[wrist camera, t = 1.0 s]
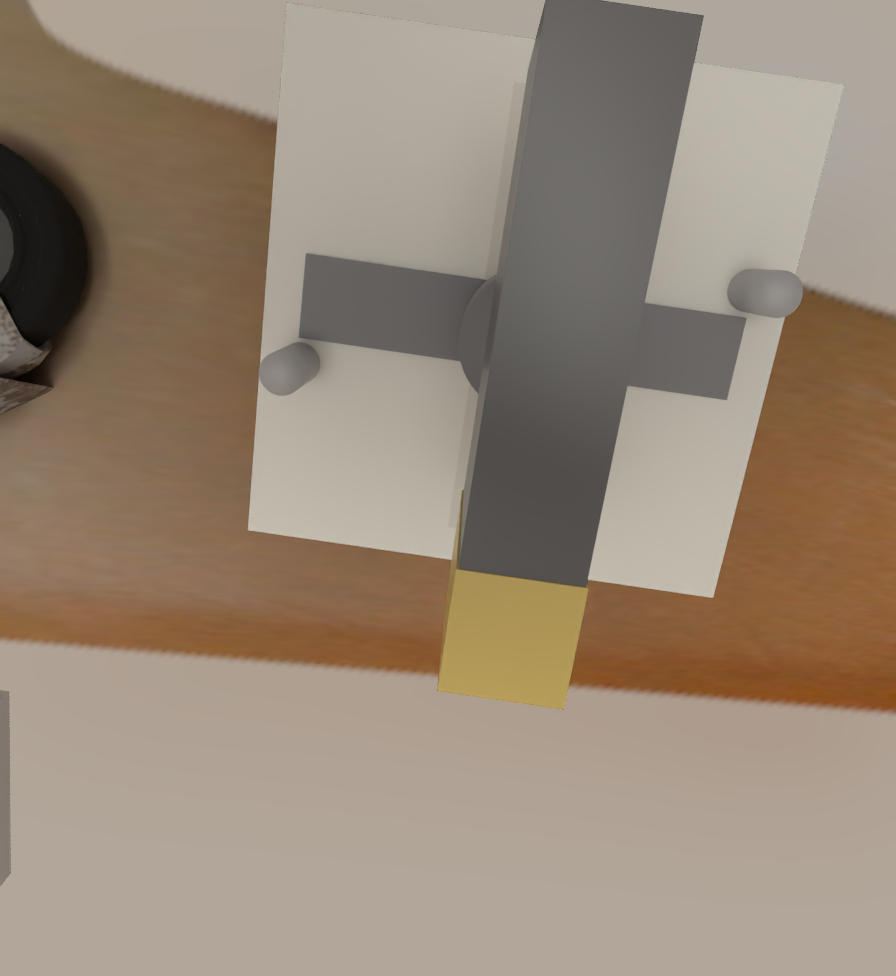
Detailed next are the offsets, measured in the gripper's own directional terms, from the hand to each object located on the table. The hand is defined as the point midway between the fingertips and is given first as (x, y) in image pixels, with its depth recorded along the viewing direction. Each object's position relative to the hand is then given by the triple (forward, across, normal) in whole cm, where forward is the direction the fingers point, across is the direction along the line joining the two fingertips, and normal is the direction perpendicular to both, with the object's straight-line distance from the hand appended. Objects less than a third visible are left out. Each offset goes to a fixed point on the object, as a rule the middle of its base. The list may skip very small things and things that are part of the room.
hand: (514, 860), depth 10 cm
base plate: (+25, 0, +5) cm, 25 cm away
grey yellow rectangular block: (+16, 0, +5) cm, 17 cm away
